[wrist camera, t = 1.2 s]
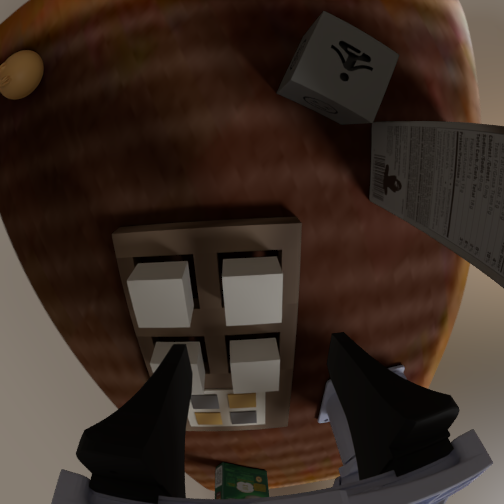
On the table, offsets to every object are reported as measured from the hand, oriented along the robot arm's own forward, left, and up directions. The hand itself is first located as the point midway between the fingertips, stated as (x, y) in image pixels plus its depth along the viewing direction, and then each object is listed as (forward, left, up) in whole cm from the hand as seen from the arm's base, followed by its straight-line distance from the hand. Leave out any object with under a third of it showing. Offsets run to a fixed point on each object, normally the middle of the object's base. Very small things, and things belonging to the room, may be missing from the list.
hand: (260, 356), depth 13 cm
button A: (0, +7, -8) cm, 10 cm away
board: (+3, +8, -9) cm, 12 cm away
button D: (+6, 0, -8) cm, 10 cm away
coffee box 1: (+2, +34, -10) cm, 35 cm away
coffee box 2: (-14, -8, -10) cm, 18 cm away
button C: (0, 0, -8) cm, 8 cm away
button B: (+6, +7, -8) cm, 12 cm away
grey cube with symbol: (-6, -14, -10) cm, 18 cm away
